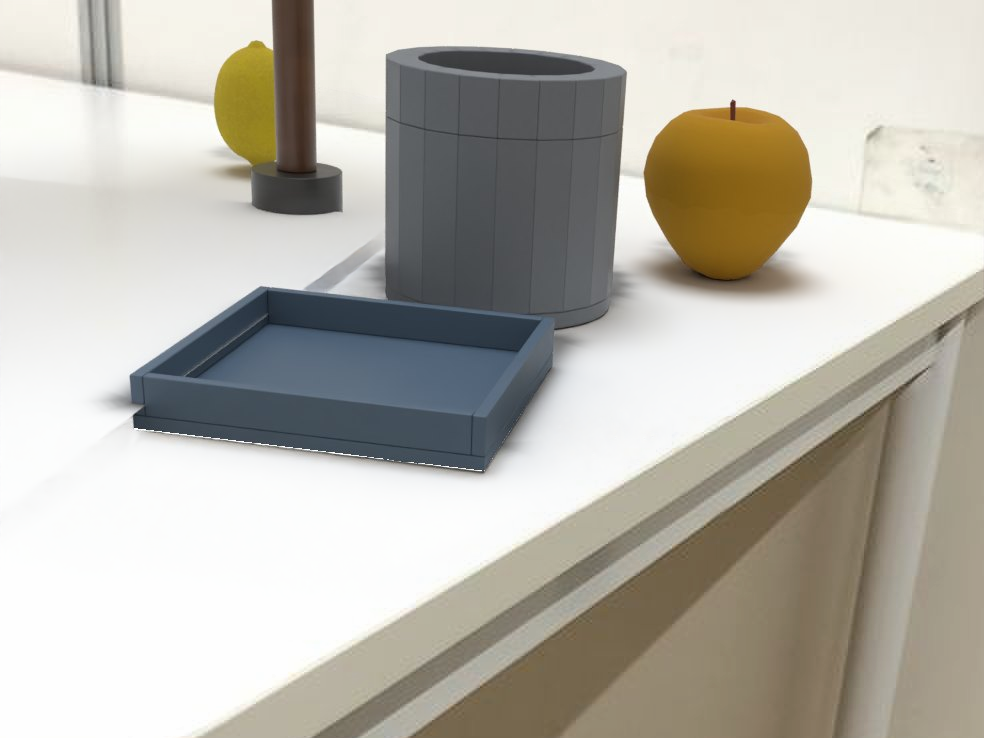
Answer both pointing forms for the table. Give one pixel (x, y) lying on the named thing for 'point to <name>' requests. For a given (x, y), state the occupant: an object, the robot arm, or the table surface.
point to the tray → (350, 377)
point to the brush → (295, 123)
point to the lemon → (247, 103)
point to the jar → (502, 180)
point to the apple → (727, 187)
